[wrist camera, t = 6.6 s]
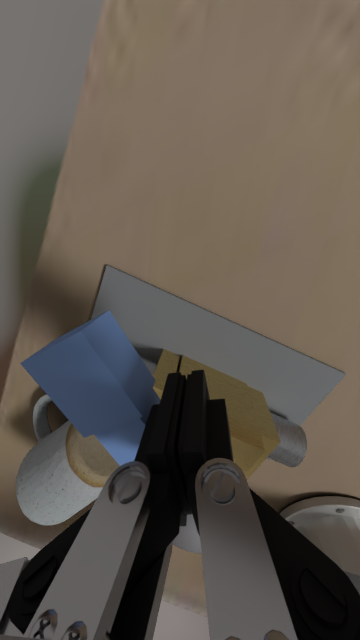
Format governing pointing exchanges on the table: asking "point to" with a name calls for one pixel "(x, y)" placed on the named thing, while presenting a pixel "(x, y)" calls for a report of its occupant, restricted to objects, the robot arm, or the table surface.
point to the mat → (215, 344)
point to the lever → (103, 392)
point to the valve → (240, 415)
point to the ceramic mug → (60, 470)
